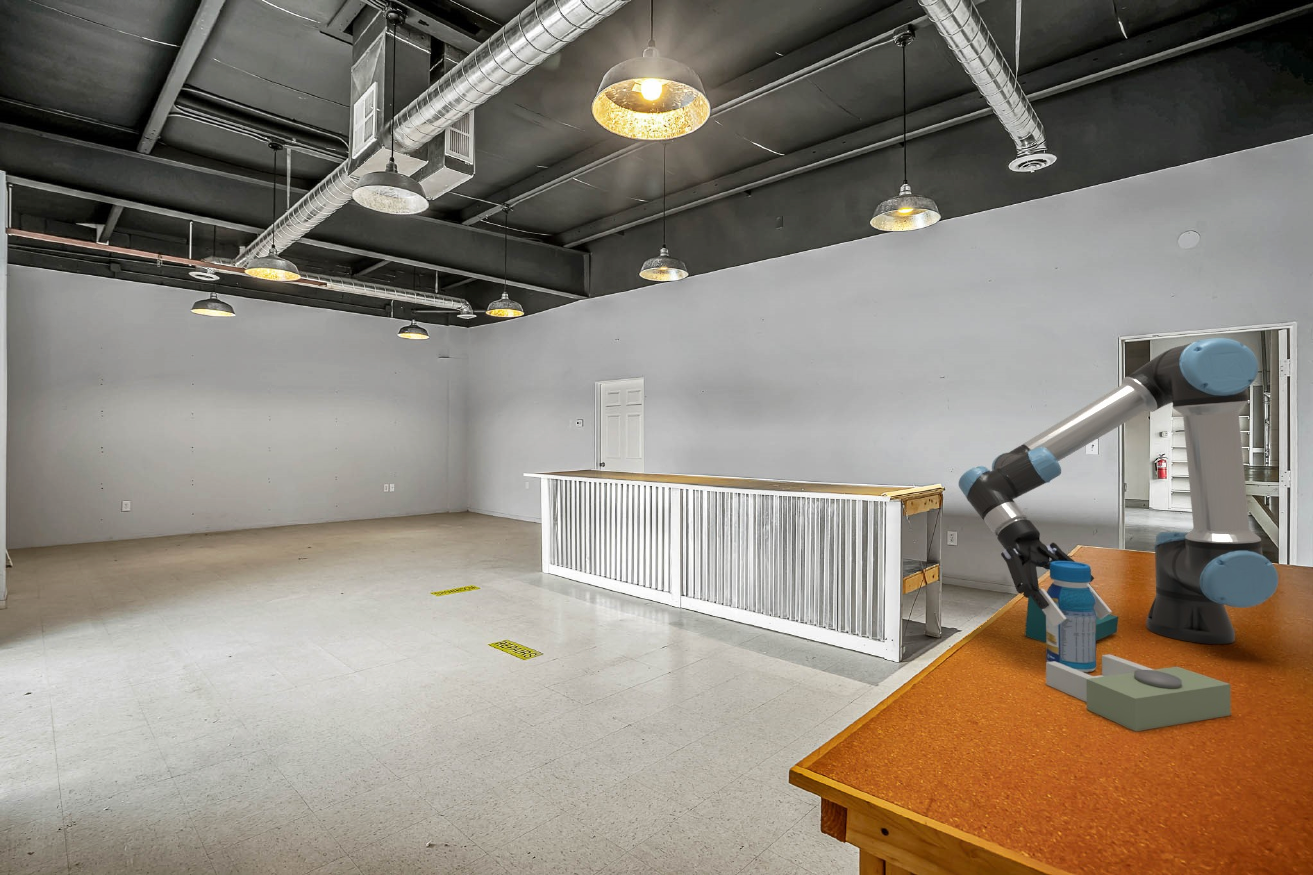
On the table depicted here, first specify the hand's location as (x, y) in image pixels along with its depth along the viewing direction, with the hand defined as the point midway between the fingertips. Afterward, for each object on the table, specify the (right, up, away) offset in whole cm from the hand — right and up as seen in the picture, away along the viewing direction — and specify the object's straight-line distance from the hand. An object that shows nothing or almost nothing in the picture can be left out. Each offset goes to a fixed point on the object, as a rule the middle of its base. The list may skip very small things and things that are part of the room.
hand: (1083, 619), depth 119 cm
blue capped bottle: (-1, -10, +2) cm, 10 cm away
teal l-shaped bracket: (+11, -10, +20) cm, 25 cm away
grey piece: (-2, -10, -13) cm, 17 cm away
